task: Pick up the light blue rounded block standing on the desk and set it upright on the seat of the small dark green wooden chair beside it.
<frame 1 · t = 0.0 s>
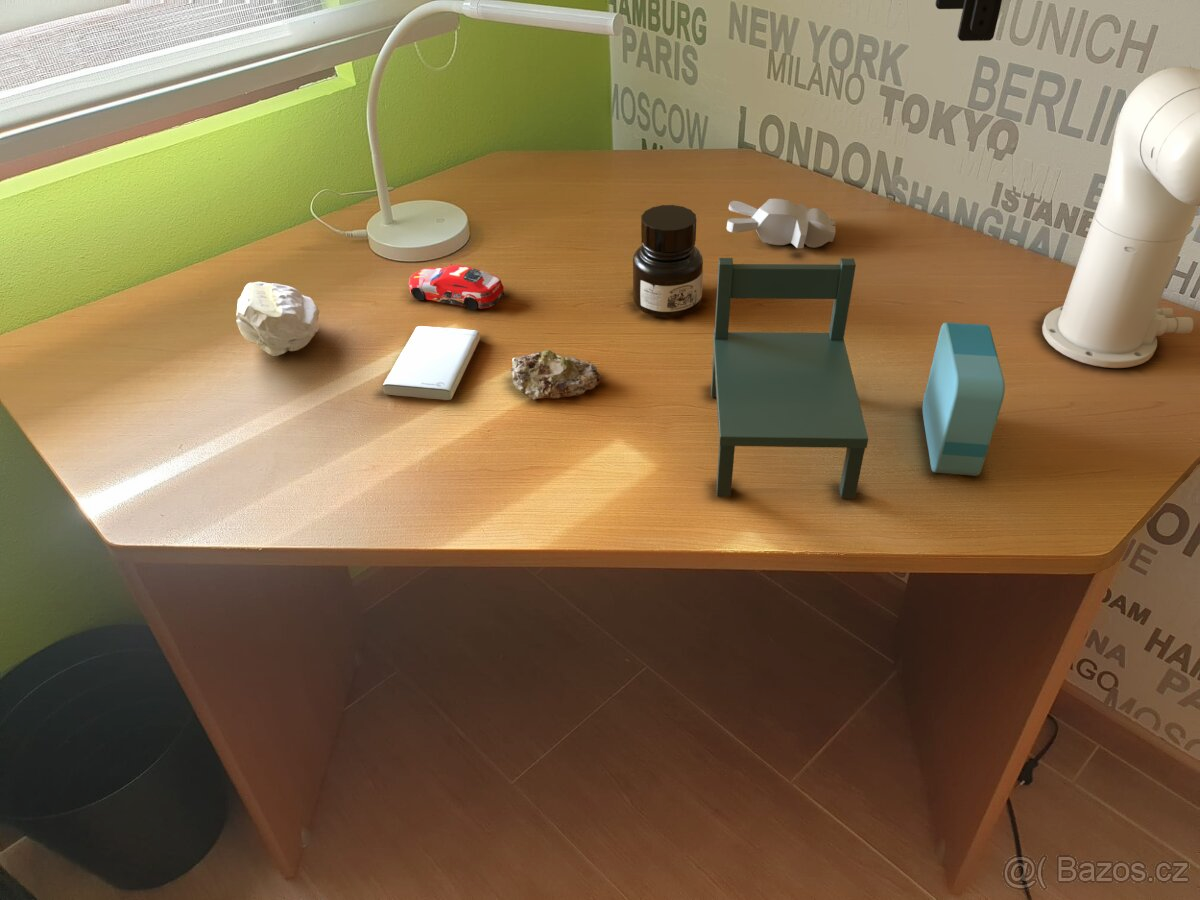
hand: (962, 23, 93), 37 cm above the table, tool pointing down, fingers open, 9 cm apart
bunny figurine: (779, 240, 137), on the table
hard drive: (434, 367, 115), on the table
ink bottle: (666, 302, 125), on the table
chair: (777, 440, 103), on the table
race car: (456, 297, 127), on the table
mineral rock: (555, 384, 112), on the table
light blue rounded block: (947, 444, 102), on the table
white rounded lump: (284, 343, 120), on the table
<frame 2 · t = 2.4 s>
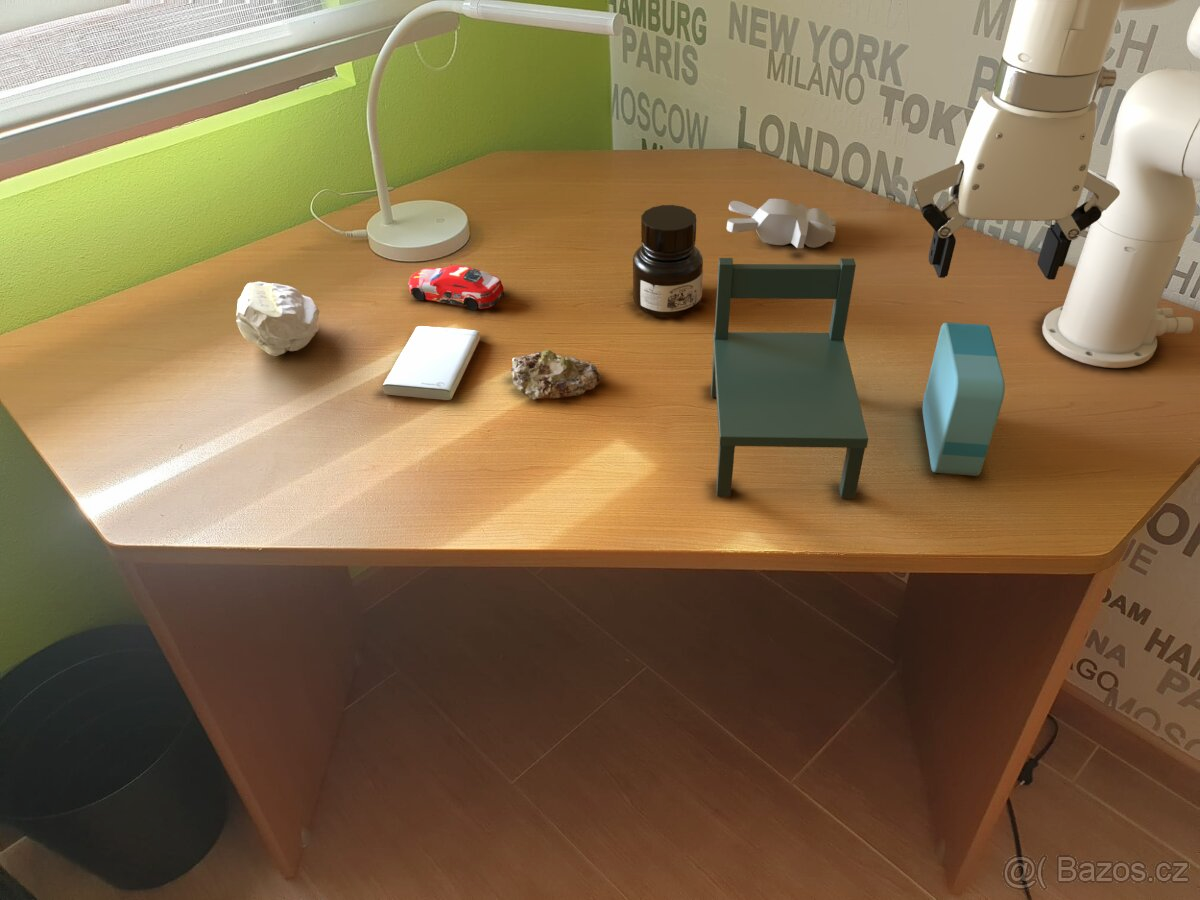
hand: (992, 271, 88), 21 cm above the table, tool pointing down, fingers open, 9 cm apart
nothing on the table moved.
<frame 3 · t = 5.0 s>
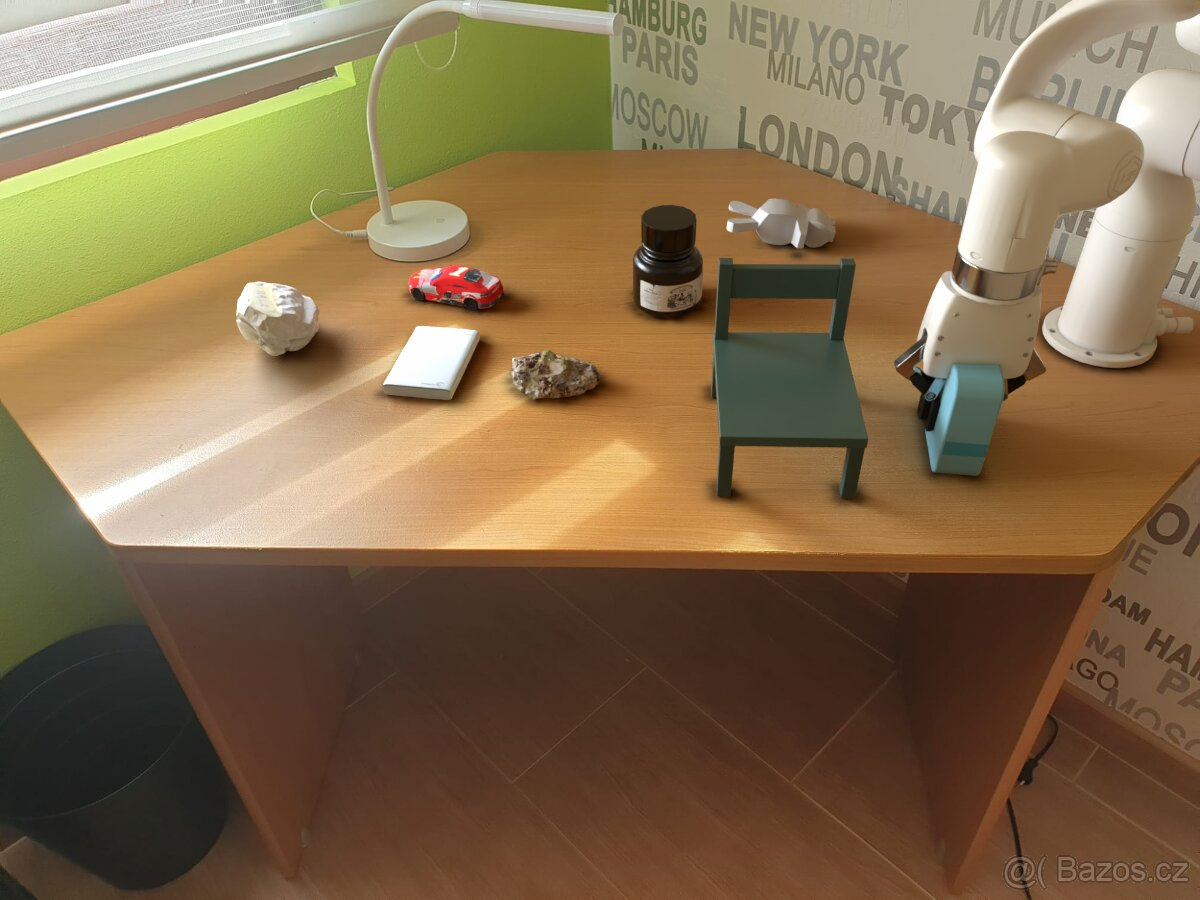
hand: (953, 422, 100), 3 cm above the table, tool pointing down, fingers closed on light blue rounded block, 4 cm apart
light blue rounded block: (947, 444, 102), on the table, touching gripper
everything else where it was.
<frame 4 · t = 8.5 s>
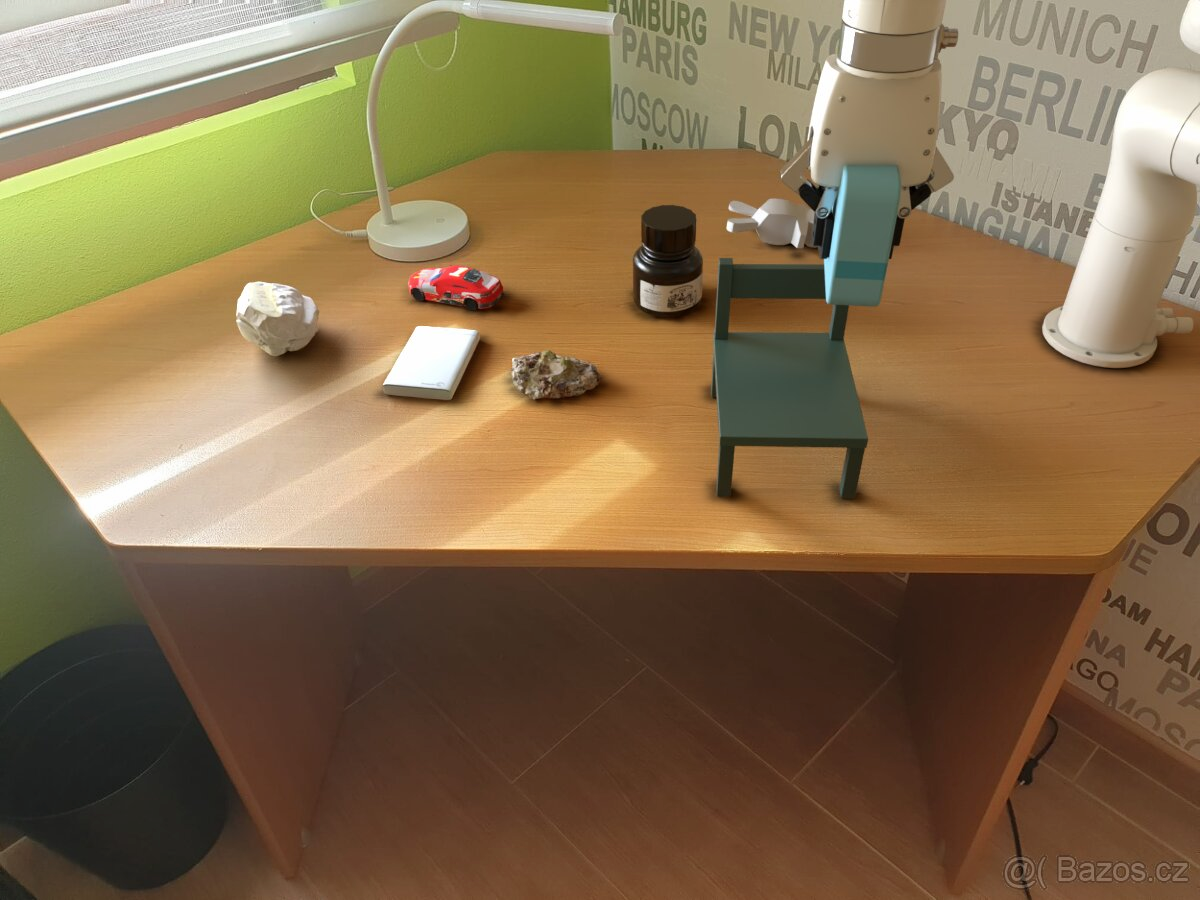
hand: (853, 249, 87), 23 cm above the table, tool pointing down, fingers closed on light blue rounded block, 4 cm apart
light blue rounded block: (848, 279, 89), point 20 cm above the table, touching gripper
everything else where it was.
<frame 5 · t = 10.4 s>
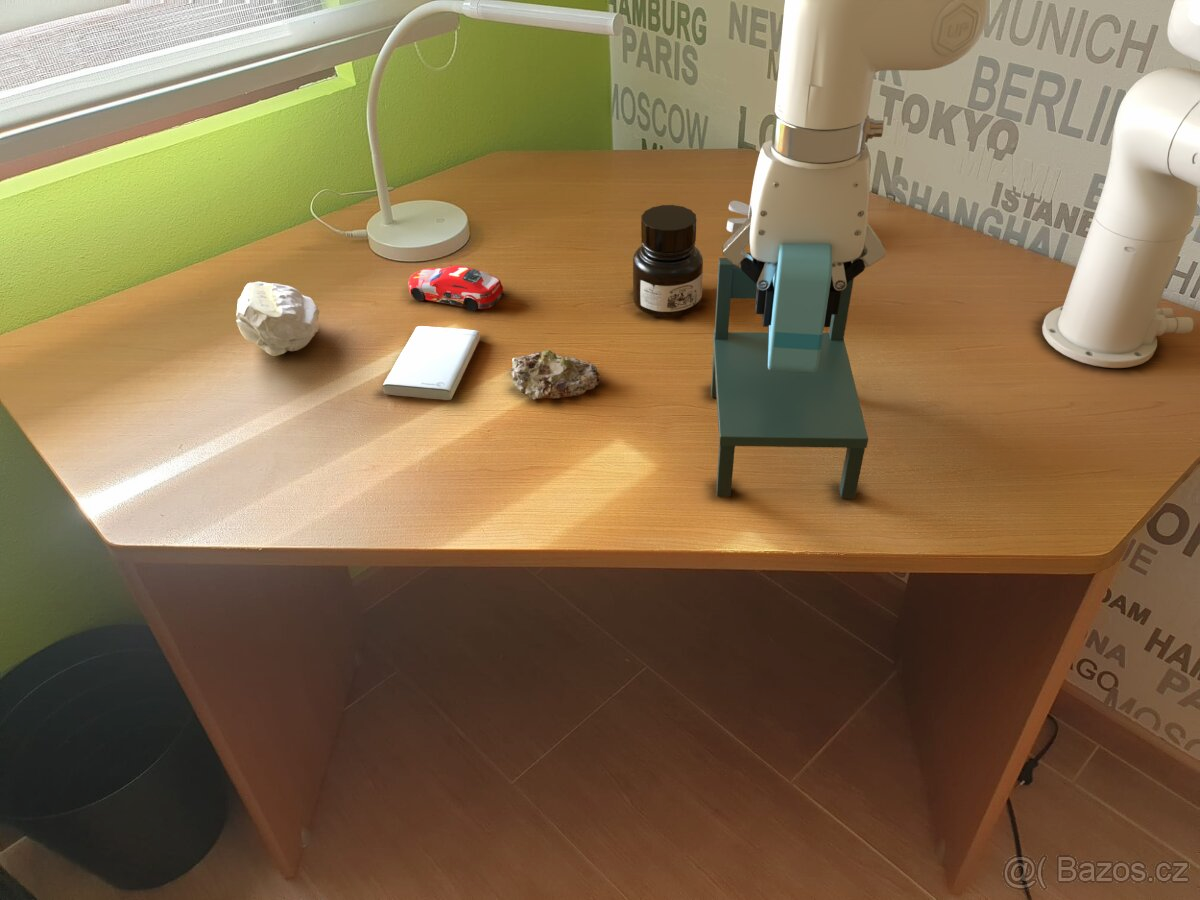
hand: (794, 317, 91), 16 cm above the table, tool pointing down, fingers closed on light blue rounded block, 4 cm apart
light blue rounded block: (791, 344, 93), point 13 cm above the table, touching gripper
everything else where it was.
when the fingers open (11 cm above the table, at t = 12.1 s): light blue rounded block stays where it is, resting on chair.
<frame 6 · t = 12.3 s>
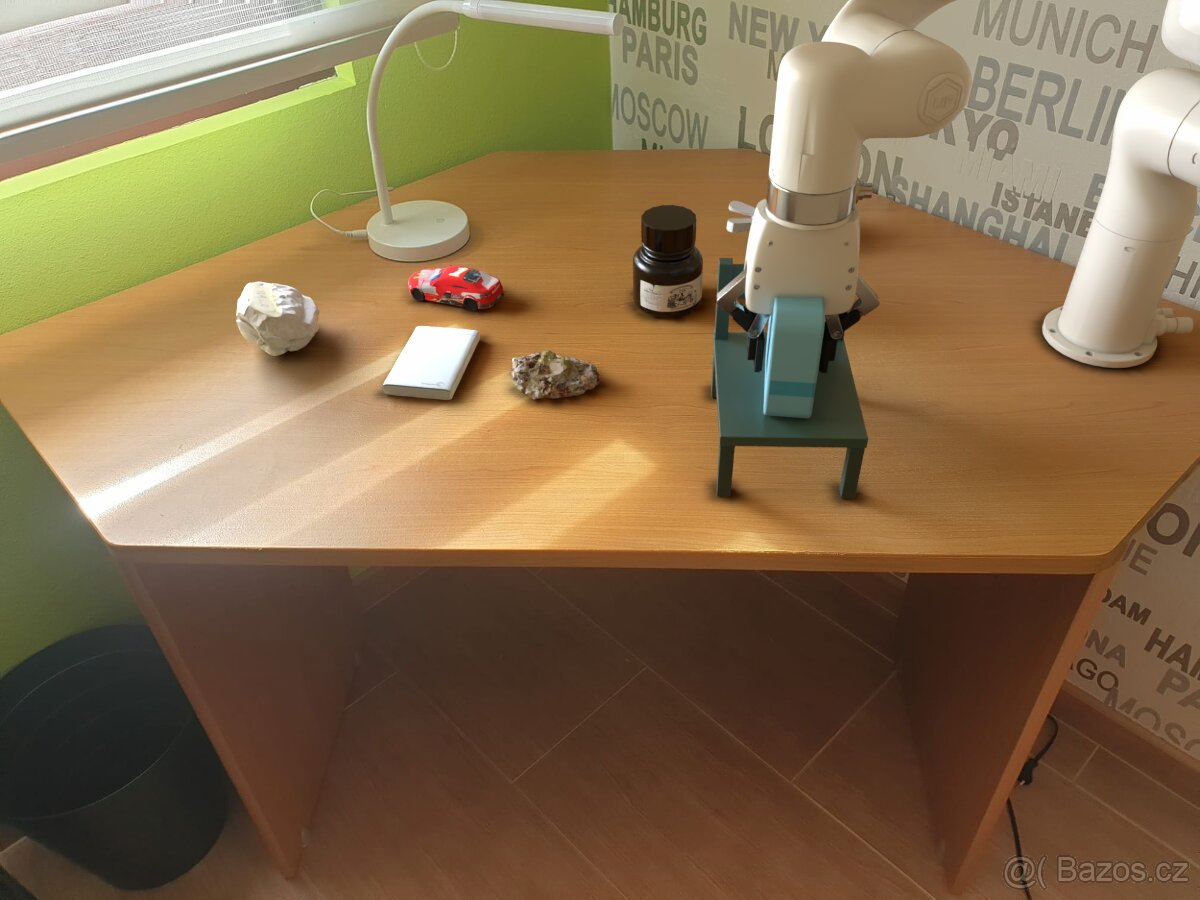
hand: (789, 363, 95), 11 cm above the table, tool pointing down, fingers open, 5 cm apart
light blue rounded block: (786, 388, 97), point 8 cm above the table, touching chair
everything else where it was.
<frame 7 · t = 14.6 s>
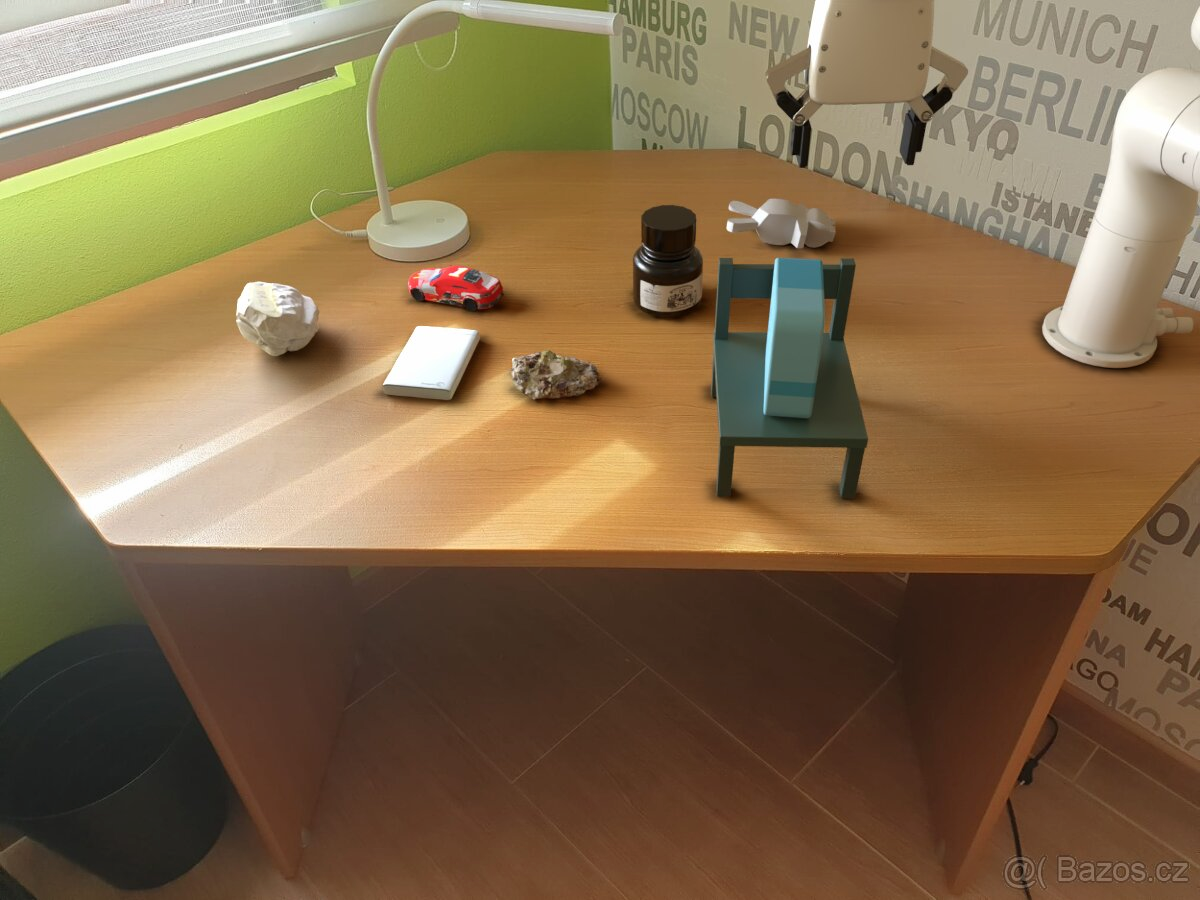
hand: (853, 160, 89), 29 cm above the table, tool pointing down, fingers open, 9 cm apart
nothing on the table moved.
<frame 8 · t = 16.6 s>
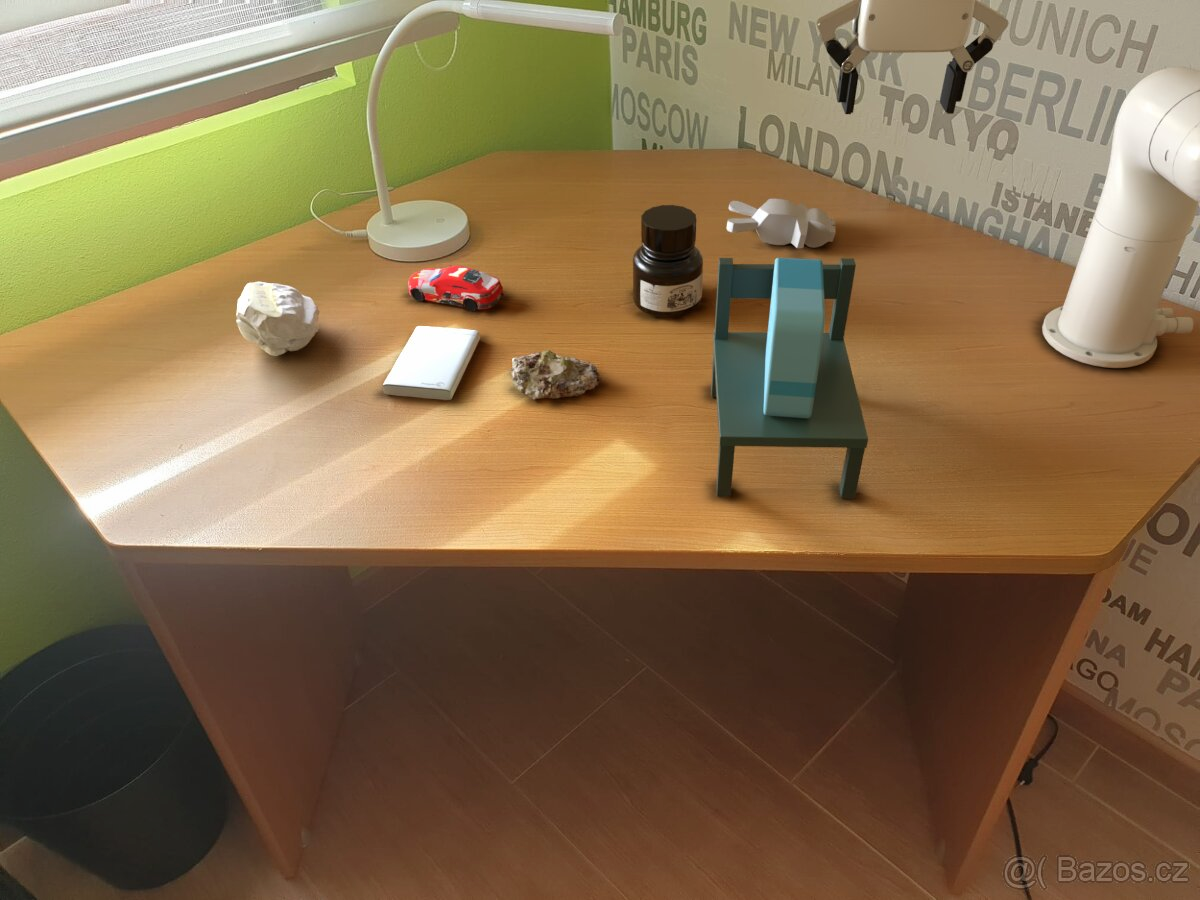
hand: (896, 108, 94), 30 cm above the table, tool pointing down, fingers open, 9 cm apart
nothing on the table moved.
at the end: light blue rounded block inside the target area on the chair (0.1 cm from its centre), point 7.8 cm above the chair's base; light blue rounded block tilted 0°; the gripper is holding nothing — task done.
